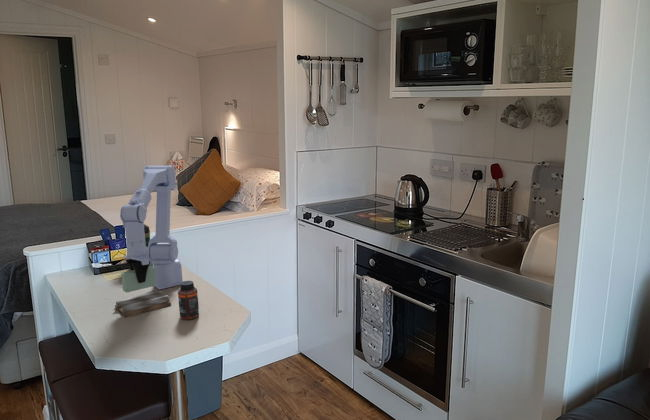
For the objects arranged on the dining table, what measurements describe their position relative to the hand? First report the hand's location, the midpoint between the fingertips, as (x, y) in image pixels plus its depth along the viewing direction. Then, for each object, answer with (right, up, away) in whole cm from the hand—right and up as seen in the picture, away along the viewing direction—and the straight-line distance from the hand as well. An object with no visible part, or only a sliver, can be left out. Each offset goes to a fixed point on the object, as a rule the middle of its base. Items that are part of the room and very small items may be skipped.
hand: (139, 280), depth 172 cm
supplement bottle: (+18, -11, -7) cm, 22 cm away
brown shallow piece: (+1, -9, +2) cm, 9 cm away
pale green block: (0, -2, 0) cm, 2 cm away
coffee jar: (-14, -1, +42) cm, 44 cm away
